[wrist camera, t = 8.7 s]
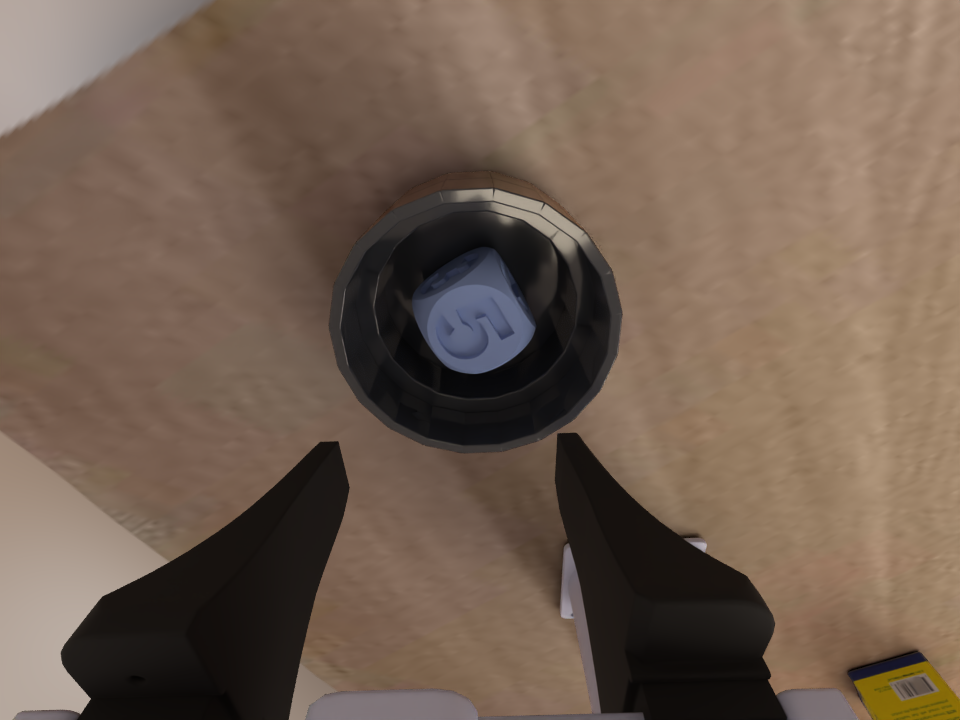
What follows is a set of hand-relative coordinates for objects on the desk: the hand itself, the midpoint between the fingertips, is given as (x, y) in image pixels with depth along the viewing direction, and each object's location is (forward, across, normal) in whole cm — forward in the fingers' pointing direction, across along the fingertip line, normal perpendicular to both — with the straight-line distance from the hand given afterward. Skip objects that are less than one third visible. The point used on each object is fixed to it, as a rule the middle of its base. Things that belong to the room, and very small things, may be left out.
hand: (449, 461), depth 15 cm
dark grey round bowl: (+9, -1, -2) cm, 10 cm away
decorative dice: (+9, -1, -2) cm, 9 cm away
